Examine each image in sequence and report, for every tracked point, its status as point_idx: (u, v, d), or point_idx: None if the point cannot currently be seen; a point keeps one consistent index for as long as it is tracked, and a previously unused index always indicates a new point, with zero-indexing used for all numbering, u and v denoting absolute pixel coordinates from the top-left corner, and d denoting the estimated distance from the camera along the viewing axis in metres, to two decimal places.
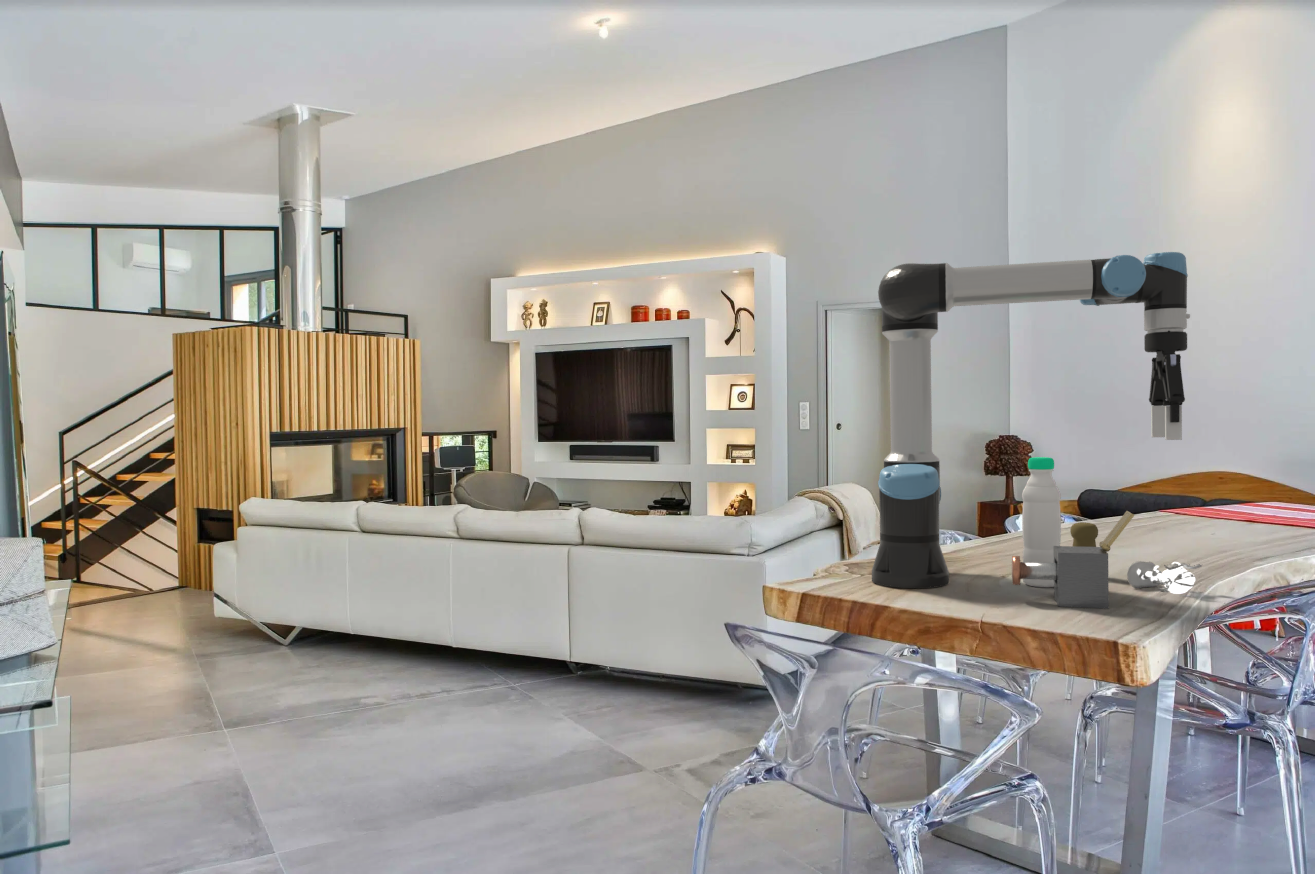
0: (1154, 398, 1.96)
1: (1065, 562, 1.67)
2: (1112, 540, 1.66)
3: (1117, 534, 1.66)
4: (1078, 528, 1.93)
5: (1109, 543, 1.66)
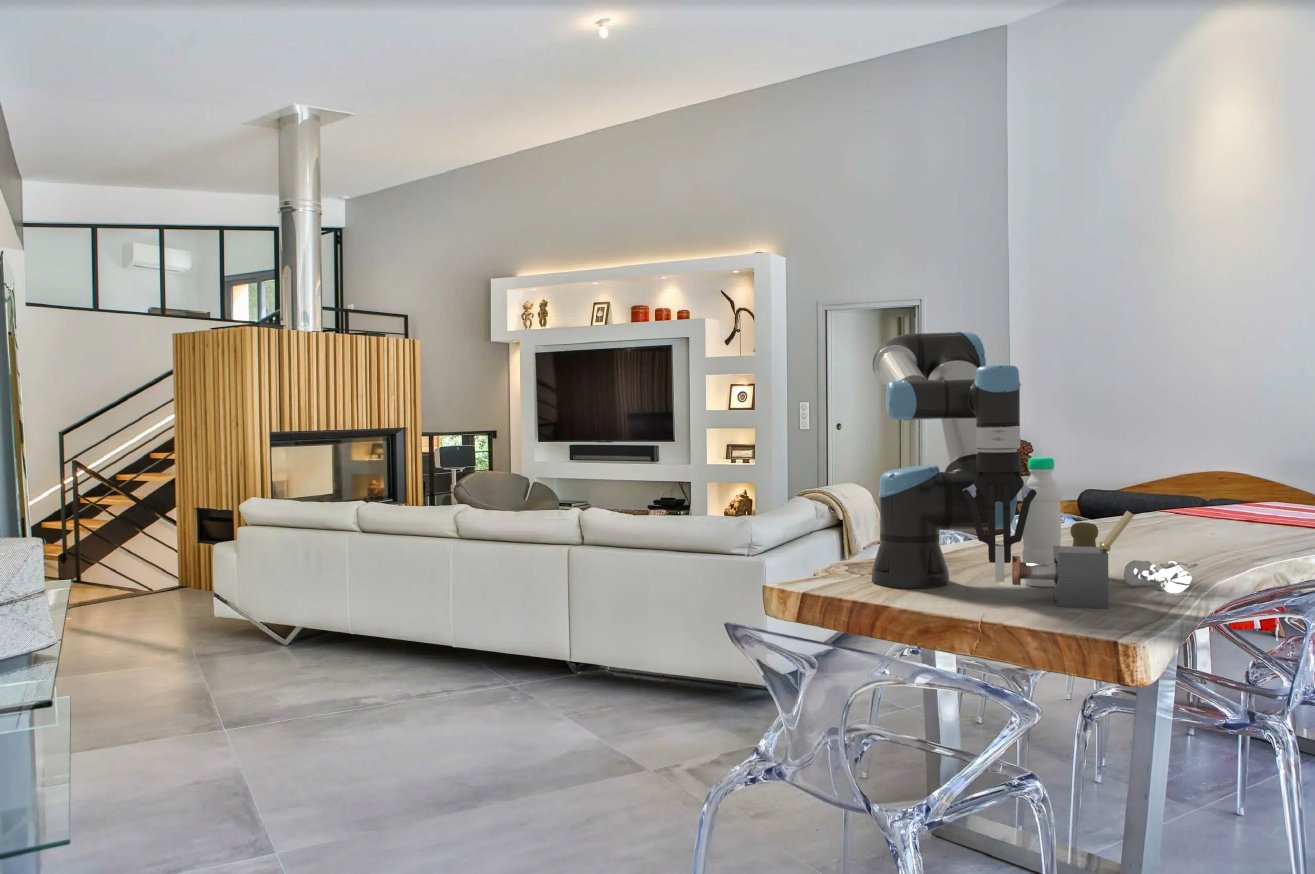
0: None
1: (1065, 562, 1.67)
2: (1112, 540, 1.66)
3: (1117, 534, 1.66)
4: (1078, 528, 1.93)
5: (1109, 543, 1.66)
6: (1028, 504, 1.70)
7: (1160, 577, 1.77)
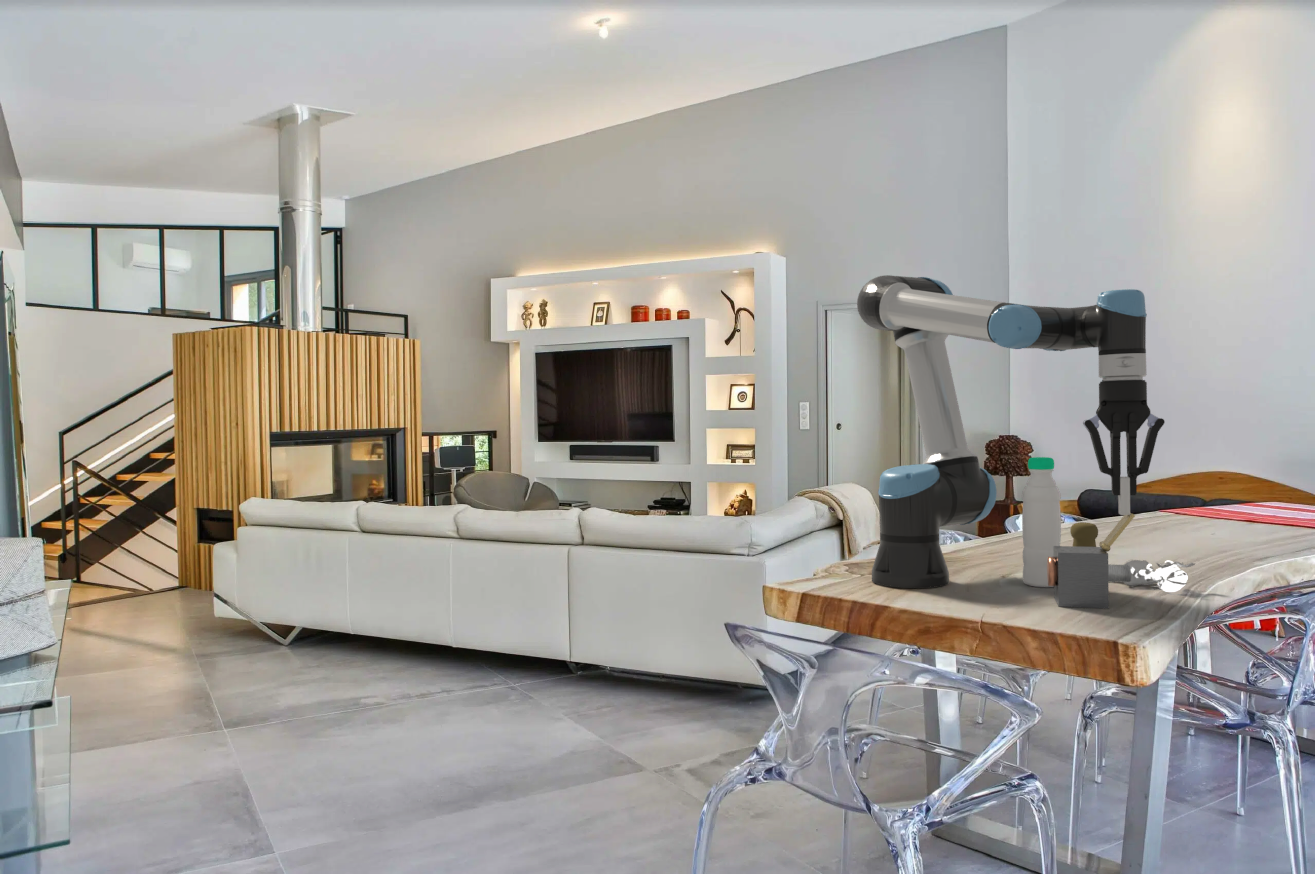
0: (1127, 463, 1.68)
1: (1065, 562, 1.67)
2: (1112, 540, 1.66)
3: (1117, 534, 1.66)
4: (1078, 528, 1.93)
5: (1109, 543, 1.66)
6: (1155, 433, 1.64)
7: (1156, 576, 1.78)
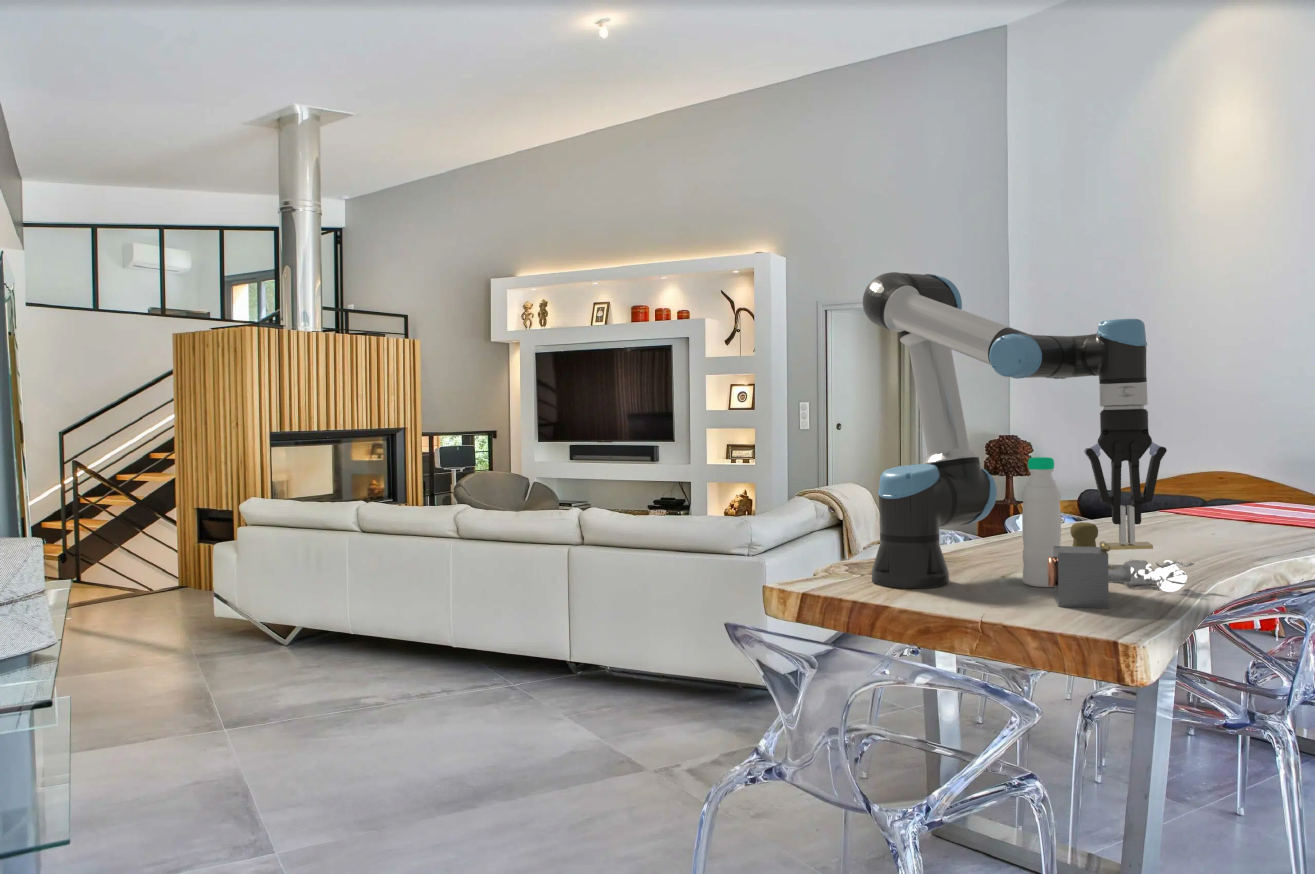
0: None
1: (1065, 562, 1.67)
2: (1117, 547, 1.66)
3: (1125, 547, 1.65)
4: (1078, 528, 1.93)
5: (1112, 547, 1.66)
6: (1158, 462, 1.64)
7: (1156, 576, 1.79)
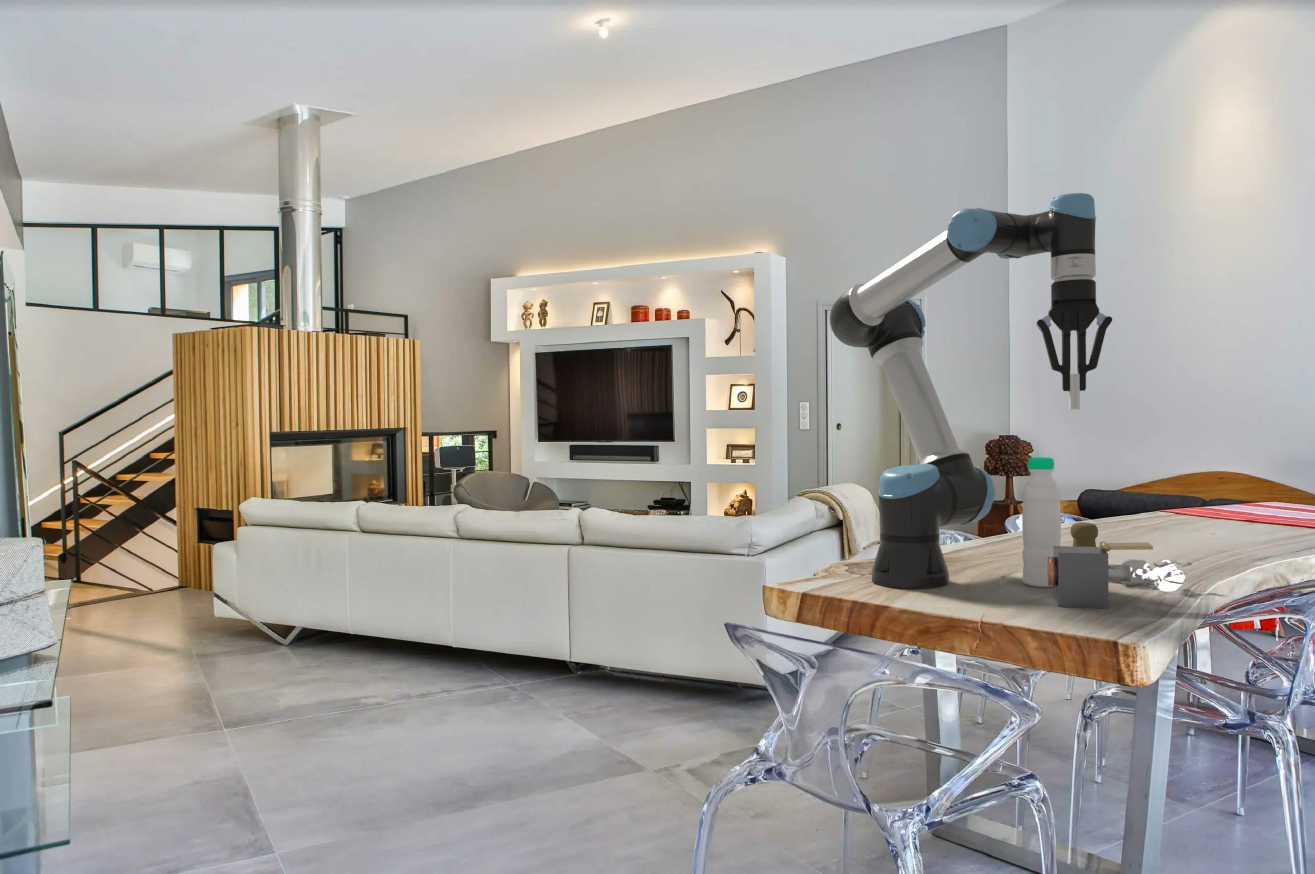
0: (1077, 361, 1.76)
1: (1065, 562, 1.67)
2: (1117, 548, 1.66)
3: (1125, 548, 1.65)
4: (1078, 528, 1.93)
5: (1112, 547, 1.66)
6: (1104, 331, 1.72)
7: (1154, 576, 1.79)
